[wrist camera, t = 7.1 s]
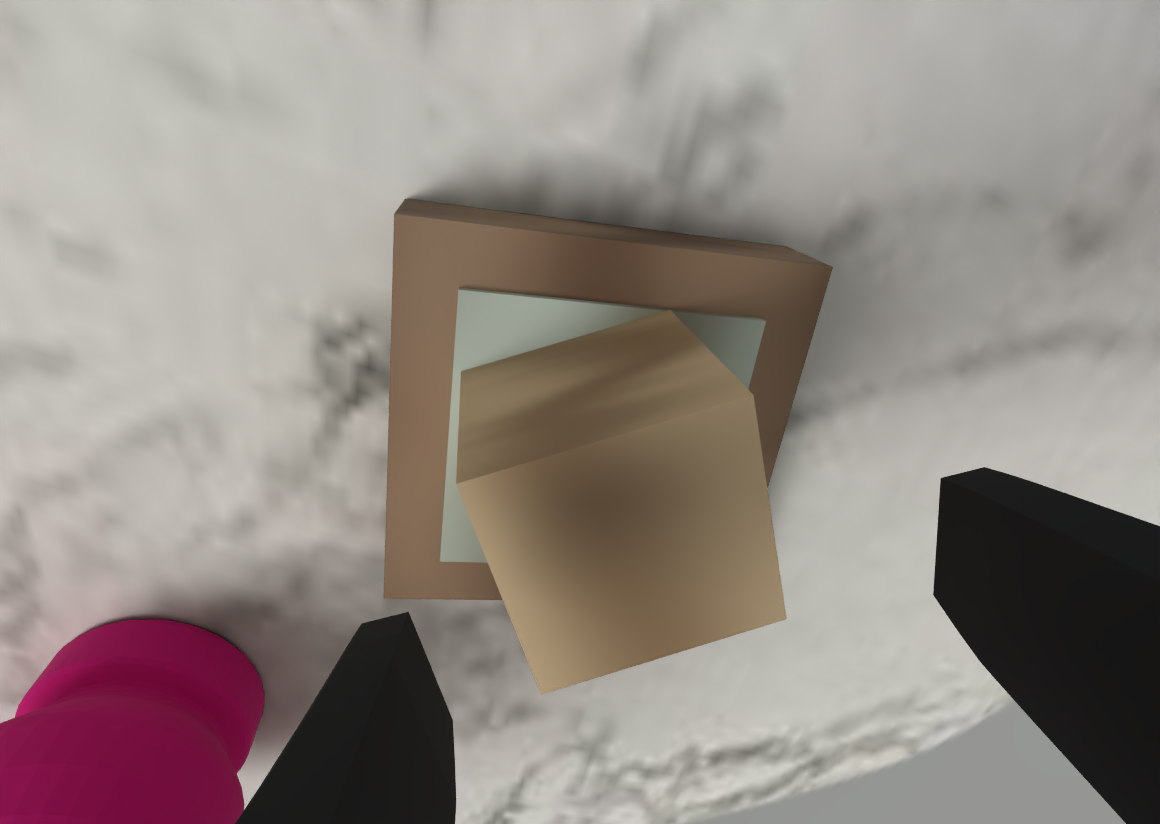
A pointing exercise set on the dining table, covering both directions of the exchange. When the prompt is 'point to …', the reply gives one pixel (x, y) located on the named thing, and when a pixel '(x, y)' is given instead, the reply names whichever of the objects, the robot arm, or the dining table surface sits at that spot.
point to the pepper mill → (133, 730)
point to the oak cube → (618, 498)
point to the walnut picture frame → (551, 315)
